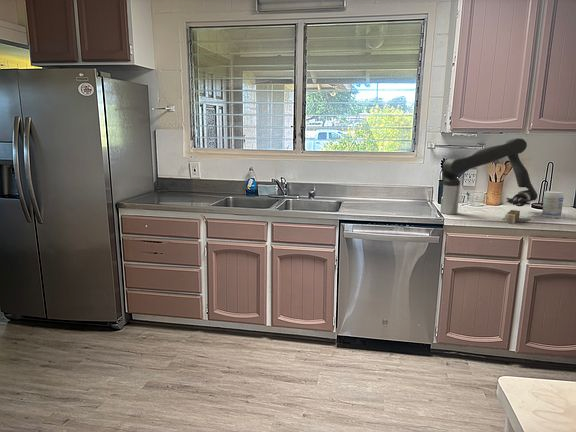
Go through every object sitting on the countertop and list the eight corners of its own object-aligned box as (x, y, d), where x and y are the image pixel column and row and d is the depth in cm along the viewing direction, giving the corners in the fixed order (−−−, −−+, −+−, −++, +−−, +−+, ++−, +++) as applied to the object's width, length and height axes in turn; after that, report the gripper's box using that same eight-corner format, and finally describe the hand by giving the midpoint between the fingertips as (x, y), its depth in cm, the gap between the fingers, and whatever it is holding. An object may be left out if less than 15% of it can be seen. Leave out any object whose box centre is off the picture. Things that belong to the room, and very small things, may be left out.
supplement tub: (561, 219, 237) (564, 193, 234) (542, 217, 242) (545, 192, 239) (560, 216, 246) (563, 191, 243) (541, 214, 250) (544, 190, 247)
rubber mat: (502, 219, 236) (502, 219, 236) (507, 216, 244) (507, 216, 244) (526, 222, 228) (526, 221, 228) (530, 219, 237) (530, 218, 236)
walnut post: (510, 217, 238) (504, 222, 229) (511, 209, 237) (505, 214, 228) (519, 218, 235) (513, 223, 226) (520, 210, 234) (514, 215, 225)
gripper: (509, 191, 248) (502, 195, 235) (534, 193, 240) (528, 197, 227) (508, 204, 250) (501, 208, 237) (533, 206, 241) (527, 211, 228)
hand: (514, 203), depth 232 cm, fingers closed
